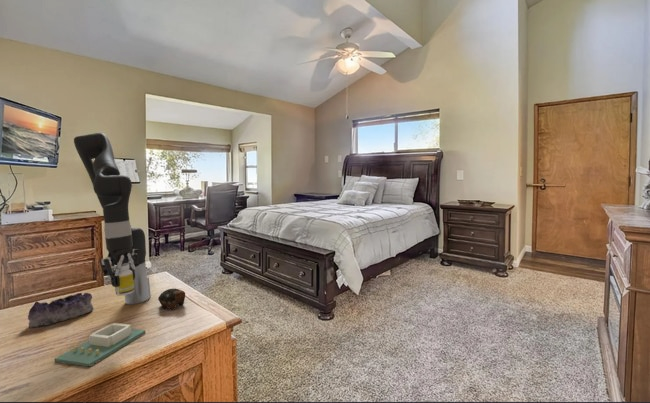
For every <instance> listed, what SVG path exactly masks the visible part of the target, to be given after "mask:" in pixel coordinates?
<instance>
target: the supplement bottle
mask: <svg viewBox="0 0 650 403" xmlns="http://www.w3.org/2000/svg"><path fill="white" fill-rule="evenodd" d="M118 276H119V283H120V286H118V287H114V291H115V295H116V296H118V297H119V296H120V297H121V296H125V295H127V294H130V293H132V292H134V282H133V273H132V271H131V270H129V264H122V265H121V268H120V269H119V272H118Z"/></svg>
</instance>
